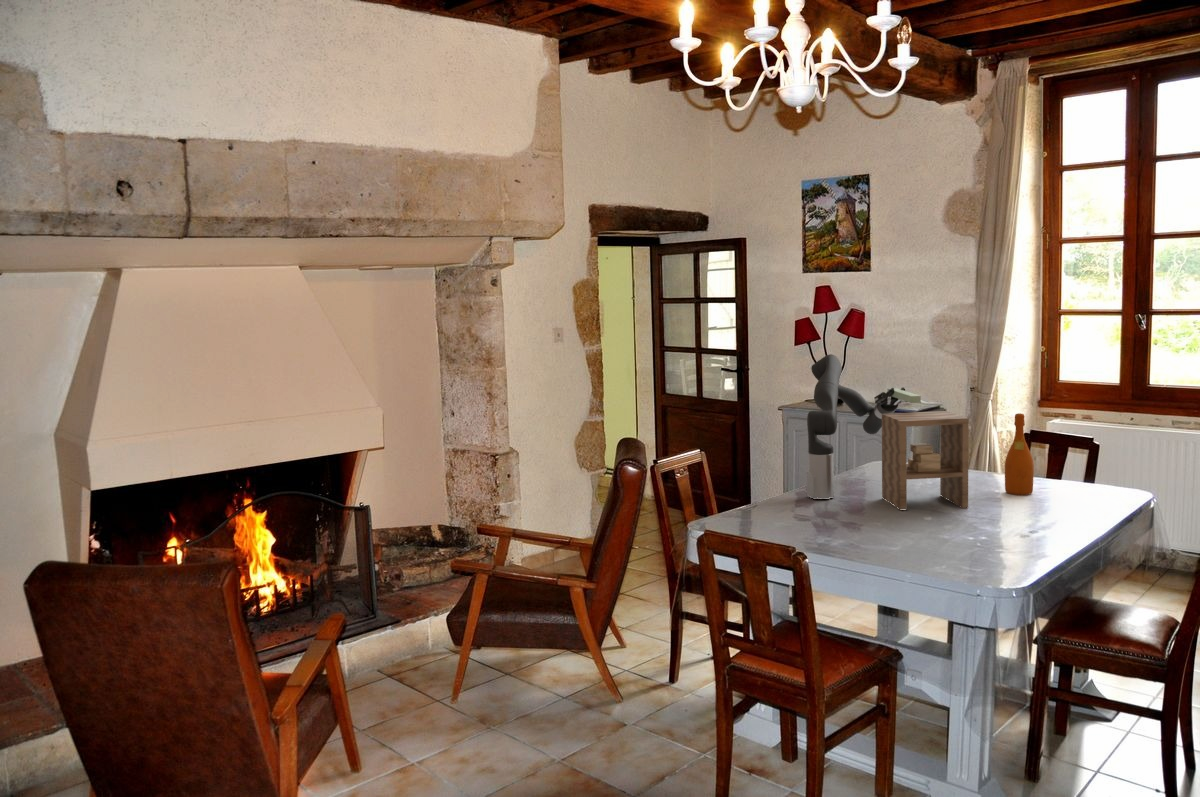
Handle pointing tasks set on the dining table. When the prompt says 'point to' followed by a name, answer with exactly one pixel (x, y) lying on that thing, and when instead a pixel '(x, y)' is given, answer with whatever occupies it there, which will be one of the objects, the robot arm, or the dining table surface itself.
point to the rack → (925, 456)
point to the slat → (906, 396)
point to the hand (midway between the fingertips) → (898, 389)
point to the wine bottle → (1019, 463)
